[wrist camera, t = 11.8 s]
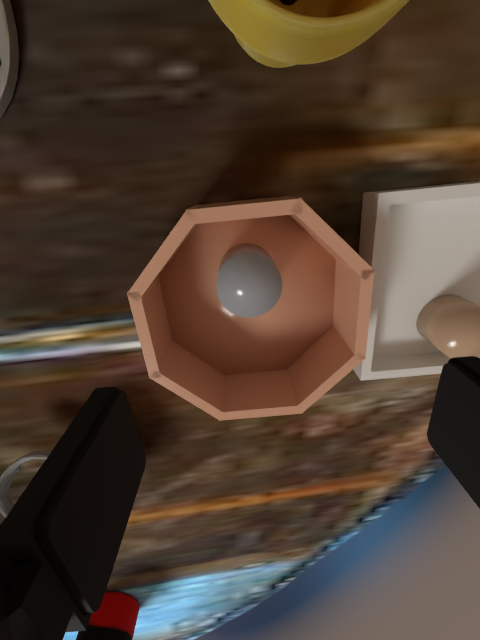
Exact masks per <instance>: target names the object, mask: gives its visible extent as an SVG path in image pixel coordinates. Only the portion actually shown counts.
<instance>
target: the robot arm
mask: <svg viewBox="0 0 480 640" xmlns="http://www.w3.org/2000/svg"><path fill="white" fill-rule="evenodd" d="M1 63H2V65H1ZM18 65H19V48H18V36H17V28H16V24H15V20H14V15H13V11H12V7H11V3H10V0H0V118H1V116H2V115H3V114H4V112H5V110H6V109H7V107H8V105H9V103H10V101H11V99H12V97H13V93H14V89H15V86H16V82H17V78H18ZM427 437H428V440H429V443H430V444H431V446H432V447H433V449H434V450H435V451H436V453H437V454H438V455H439V456H440V458H441V459H442V460H443V462H444V463H445V464H446V465H447V467H448V468H449V469H450V471H451V472H452V473H453V475H454V476H455V477H456V478H457V479H458V481H459V482H460V484H461V485H462V486H463V488H464V489H465V490H466V491H467V493H468V494H469V495H470V497H471V498H472V499H473V501H474V502H475V503H476V504H477V506H478V507H479V508H480V358H478V357H476V356H466V357H455V358H451V359H450V360H449V361H448V363H446V364H445V365H444V366H443V368H442V372H441V376H440V380H439V385H438V389H437V393H436V397H435V402H434V406H433V410H432V414H431V418H430V423H429V427H428V431H427ZM145 463H146V458H145V453H144V450H143V447H142V443H141V440H140V437H139V434H138V431H137V427H136V424H135V421H134V418H133V415H132V411H131V408H130V405H129V402H128V399H127V395H126V393H125V392H124V391H120V389H119V388H118V387H105V388H97V389H95V390H94V391H93V392H92V394H91V395H90V397H89V398H88V400H87V401H86V403H85V404H84V405H83V407H82V408H81V410H80V411H79V413H78V414H77V416H76V417H75V418H74V420H73V421H72V423H71V424H70V426H69V427H68V429H67V430H66V431H65V433H64V434H63V436H62V437H61V439H60V440H59V442H58V443H57V444H56V446H55V447H54V449H53V450H52V452H51V453H50V455H49V456H48V457H47V459H46V460H45V462H44V463H43V465H42V466H41V468H40V469H39V470H38V472H37V473H36V475H35V476H34V478H33V479H32V480H31V482H30V483H29V485H28V486H27V488H26V489H25V491H24V492H23V493H22V495H21V496H20V498H19V499H18V501H17V502H16V504H15V505H14V506H13V508H12V509H11V511H10V512H9V514H8V515H7V517H6V518H5V519H4V521H3V522H2V524H1V525H0V640H63V637H64V634H65V632H74V631H86V630H87V627H88V624H89V621H90V618H91V615H92V613H94V612H97V610H98V609H99V608H100V606H101V603H102V601H103V598H104V595H105V592H106V588H107V585H108V582H109V579H110V576H111V573H112V570H113V566H114V563H115V560H116V557H117V554H118V551H119V548H120V544H121V541H122V538H123V535H124V532H125V529H126V526H127V522H128V519H129V516H130V513H131V510H132V507H133V504H134V500H135V497H136V494H137V491H138V488H139V485H140V481H141V478H142V475H143V472H144V469H145Z"/></svg>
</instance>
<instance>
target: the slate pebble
mask: <svg viewBox="0 0 480 640" xmlns="http://www.w3.org/2000/svg"><path fill="white" fill-rule="evenodd" d="M216 289H217V295H218V298H219V300H220V302H221V303H222V305H223V306H224V307H225V308H226V309H227V310H228V311H230V312H231V313H233V314H235V315H237V316H241V317H257V316H260V315H263V314H265V313H266V312H268V311H269V310H271V309H272V308H273V307H274V306H275V305H276V303H277V302H278V300H279V298H280V296H281V293H282V278H281V275H280V272H279V270H278V269H277V267H276V265H275V263H274V261H273V260H272V258H271V256H270V255H269V253H268V252H267V251H266V250H265V249H263V248H262V247H260V246H258V245H255V244H251V243H244V244H239V245H236V246H234V247H232V248H231V249H229V250H228V251H227V252H226V253H225V255H224V256H223V258H222V259H221V262H220V266H219V271H218V277H217V284H216Z"/></svg>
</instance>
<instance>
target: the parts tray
mask: <svg viewBox="0 0 480 640" xmlns="http://www.w3.org/2000/svg"><path fill="white" fill-rule="evenodd" d="M359 256H360V257H361V258H362V259H363V260H364V261H365V262H367V263H368V264H369V265H370V266H371V267H372V268H373V269H374V270H375V271H374V279H373V289H372V299H371V308H370V318H369V328H368V338H367V348H366V358H365V359H364V360H363V361H362V362H361V363H360V364H358V365H357V366H356V367H355V368H354V369H353V370H354V371H355V373H356V374H357V376H358V377H359V379H360V380H372V379H384V378H395V377H406V376H417V375H428V374H440V373H441V372H442V368H443V366H444V365H445V364H446V363H448V361H449V360H450V358H449V357H448V356H446V355H445V354H444V353H442V352H441V351H440V350H439V349H437V348H436V347H435V346H434V345H432V344H431V343H430V342H428V341H427V340H426V339H425V338H423V337H422V336H421V335H420V334H419V332H418V330H417V327H416V322H417V317H418V315H419V313H420V311H421V310H422V308H423V307H424V306H425V305H426V304H427V303H428V302H429V301H431V300H432V299H434V298H436V297H438V296H441V295H446V294H454V295H458V296H460V297H462V298H464V299H466V300H468V301H471V302H473V303H475V304H477V305H479V306H480V181H474V182H465V183H455V184H445V185H435V186H425V187H415V188H405V189H395V190H385V191H375V192H365V193H363V203H362V216H361V229H360V242H359Z"/></svg>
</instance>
